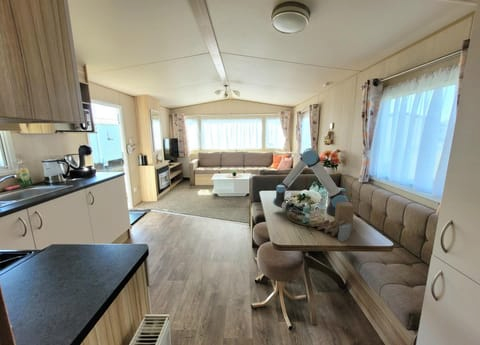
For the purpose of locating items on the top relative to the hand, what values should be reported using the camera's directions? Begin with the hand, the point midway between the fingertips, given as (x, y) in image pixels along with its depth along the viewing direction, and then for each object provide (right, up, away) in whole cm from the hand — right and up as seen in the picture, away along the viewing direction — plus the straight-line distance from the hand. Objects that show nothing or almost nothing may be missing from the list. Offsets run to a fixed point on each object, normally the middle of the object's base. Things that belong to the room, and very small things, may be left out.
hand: (311, 215), depth 159 cm
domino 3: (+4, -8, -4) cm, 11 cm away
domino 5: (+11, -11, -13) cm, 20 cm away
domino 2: (+1, -7, 0) cm, 7 cm away
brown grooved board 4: (+8, -10, -9) cm, 15 cm away
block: (+20, -10, -6) cm, 23 cm away
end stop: (+15, -12, -18) cm, 27 cm away
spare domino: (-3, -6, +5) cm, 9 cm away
